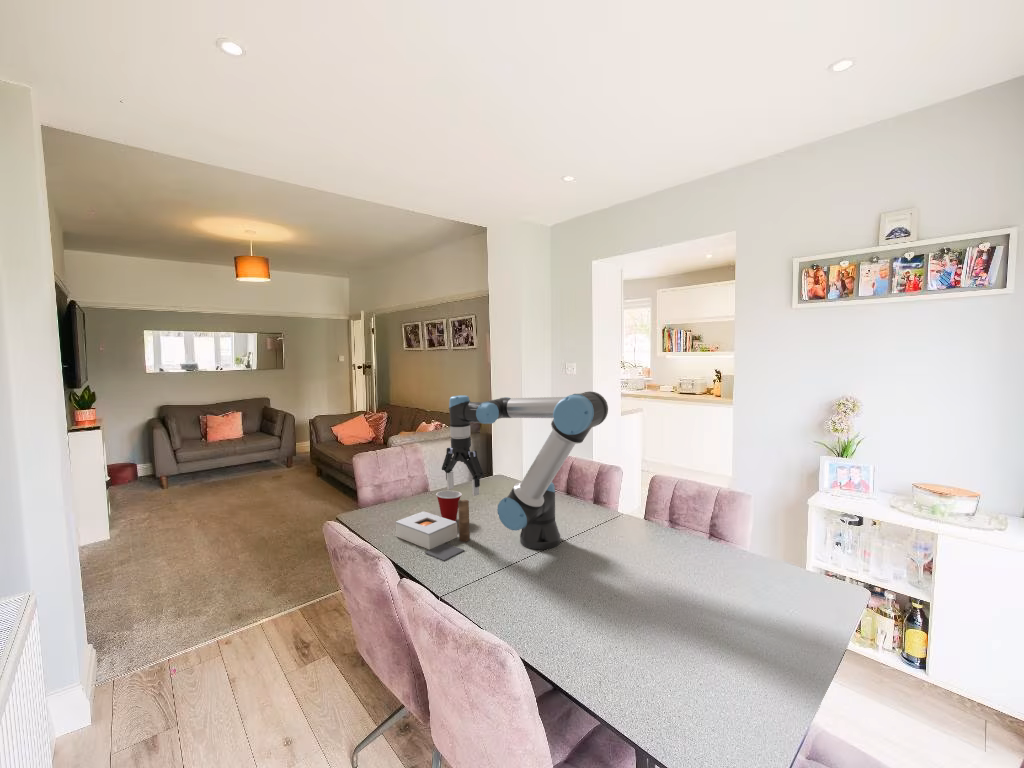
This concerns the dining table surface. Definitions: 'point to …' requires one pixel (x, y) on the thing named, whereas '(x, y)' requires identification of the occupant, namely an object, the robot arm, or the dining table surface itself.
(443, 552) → the pad
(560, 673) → the dining table surface
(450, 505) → the plastic cup
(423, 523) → the orange dome button
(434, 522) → the box
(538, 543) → the robot arm
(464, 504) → the wooden rod
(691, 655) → the dining table surface
